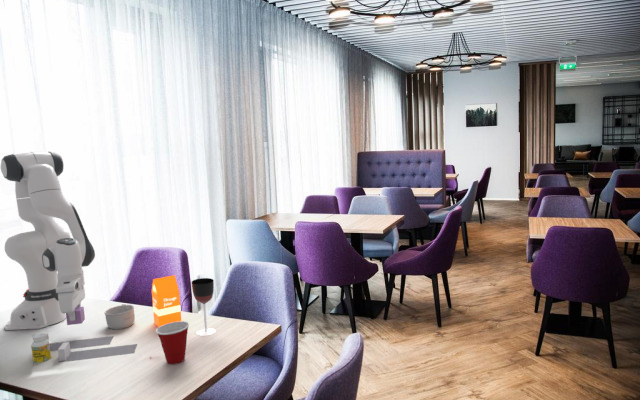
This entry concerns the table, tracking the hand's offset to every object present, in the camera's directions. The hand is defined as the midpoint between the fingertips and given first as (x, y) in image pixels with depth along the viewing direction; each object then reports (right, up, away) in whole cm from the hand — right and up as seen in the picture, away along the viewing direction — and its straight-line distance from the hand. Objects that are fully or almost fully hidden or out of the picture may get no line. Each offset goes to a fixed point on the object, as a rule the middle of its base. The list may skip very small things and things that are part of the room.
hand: (75, 317), depth 186 cm
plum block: (0, -2, 0) cm, 2 cm away
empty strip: (+16, -10, -16) cm, 25 cm away
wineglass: (+49, -6, +3) cm, 49 cm away
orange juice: (+32, -6, +11) cm, 34 cm away
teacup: (+13, -7, +12) cm, 19 cm away
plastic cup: (+44, -10, -22) cm, 50 cm away
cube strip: (+4, -9, -7) cm, 12 cm away
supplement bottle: (-2, -11, -19) cm, 22 cm away
